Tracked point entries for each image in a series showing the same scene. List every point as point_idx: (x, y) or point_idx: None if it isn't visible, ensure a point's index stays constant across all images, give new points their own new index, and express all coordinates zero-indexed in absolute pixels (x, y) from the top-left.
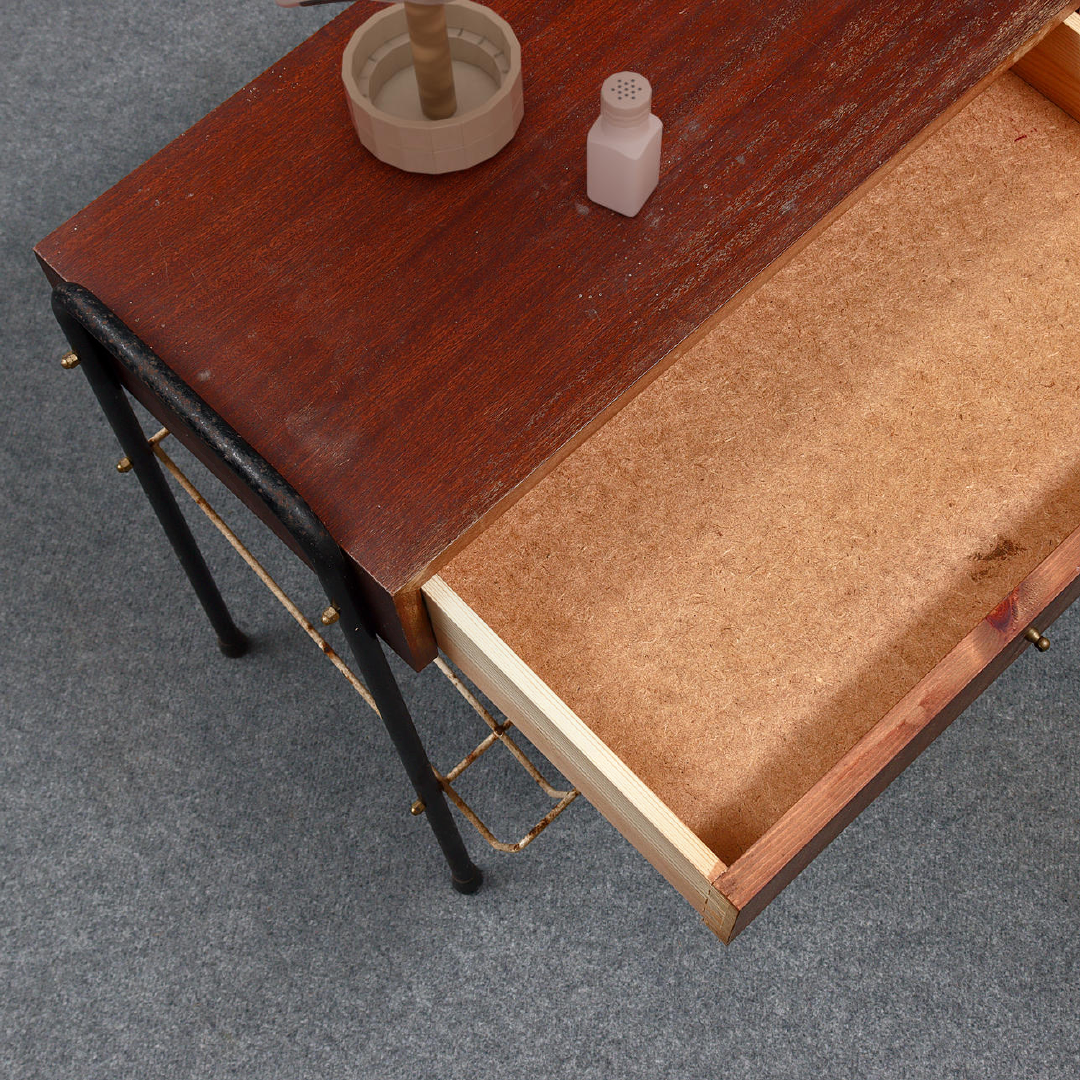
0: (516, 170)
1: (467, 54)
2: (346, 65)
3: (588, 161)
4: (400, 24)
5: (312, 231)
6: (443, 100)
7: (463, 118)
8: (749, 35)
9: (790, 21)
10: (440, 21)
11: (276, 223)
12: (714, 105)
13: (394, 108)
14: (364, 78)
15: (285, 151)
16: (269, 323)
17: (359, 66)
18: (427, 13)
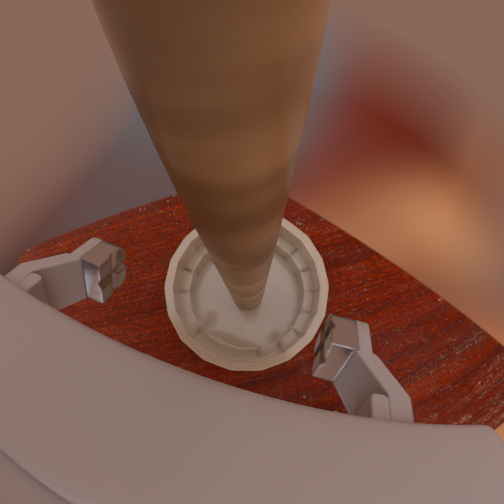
0: (270, 379)
1: (292, 265)
2: (179, 251)
3: None
4: None
5: (116, 340)
6: (245, 308)
7: (235, 366)
8: (461, 339)
9: (480, 339)
10: (253, 297)
11: (101, 319)
12: (418, 388)
13: (216, 277)
14: (199, 253)
15: (135, 264)
16: None
17: (199, 244)
18: (238, 295)
